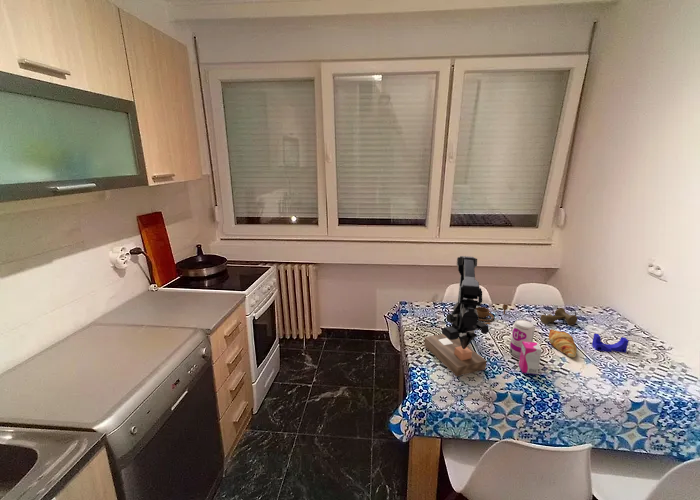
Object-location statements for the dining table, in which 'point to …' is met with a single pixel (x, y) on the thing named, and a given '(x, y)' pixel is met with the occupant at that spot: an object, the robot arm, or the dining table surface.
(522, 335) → the supplement can
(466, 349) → the terracotta plunger
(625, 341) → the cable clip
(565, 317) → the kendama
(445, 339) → the white square block
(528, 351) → the supplement box
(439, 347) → the button panel
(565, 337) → the croissant
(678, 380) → the dining table surface
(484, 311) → the place setting
